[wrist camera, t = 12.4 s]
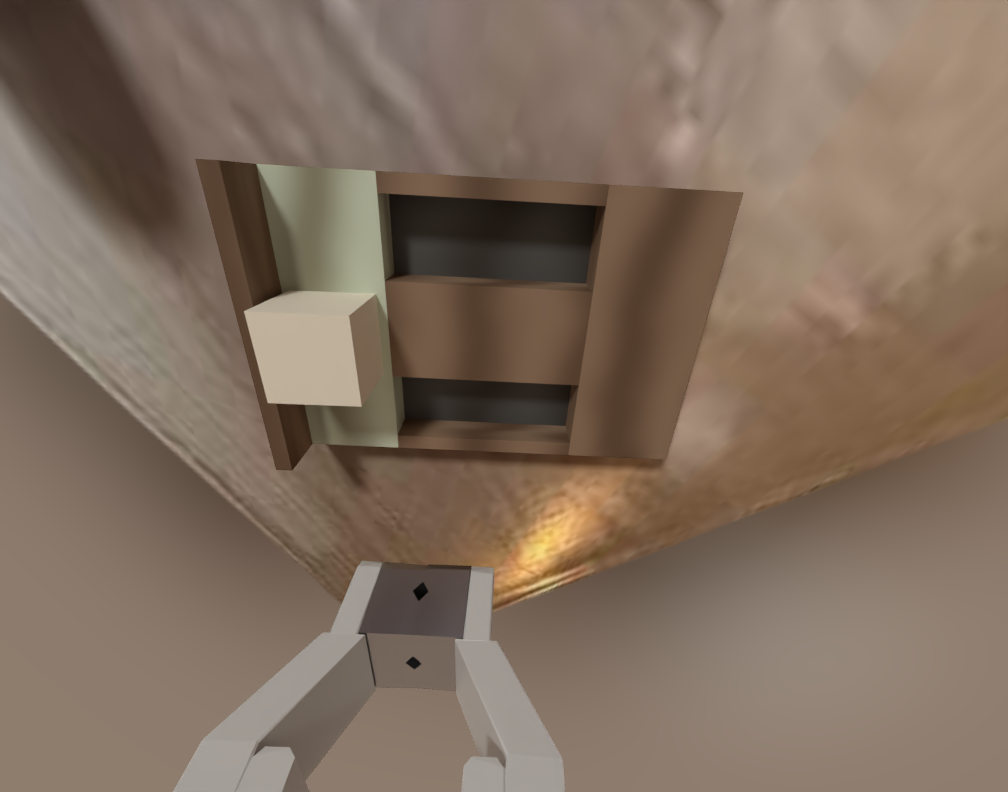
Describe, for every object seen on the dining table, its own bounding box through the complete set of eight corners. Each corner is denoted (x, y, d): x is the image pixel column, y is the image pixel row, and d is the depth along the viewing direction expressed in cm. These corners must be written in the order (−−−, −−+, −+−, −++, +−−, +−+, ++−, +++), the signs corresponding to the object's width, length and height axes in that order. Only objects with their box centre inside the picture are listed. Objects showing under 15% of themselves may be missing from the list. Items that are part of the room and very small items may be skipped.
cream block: (375, 293, 23) (348, 315, 19) (384, 372, 26) (361, 406, 22) (289, 290, 23) (243, 311, 19) (305, 369, 25) (267, 403, 21)
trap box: (720, 192, 23) (778, 193, 18) (654, 439, 31) (682, 487, 26) (262, 165, 22) (195, 159, 18) (313, 424, 30) (276, 469, 25)
